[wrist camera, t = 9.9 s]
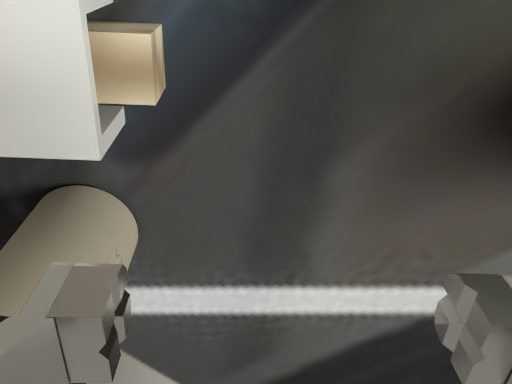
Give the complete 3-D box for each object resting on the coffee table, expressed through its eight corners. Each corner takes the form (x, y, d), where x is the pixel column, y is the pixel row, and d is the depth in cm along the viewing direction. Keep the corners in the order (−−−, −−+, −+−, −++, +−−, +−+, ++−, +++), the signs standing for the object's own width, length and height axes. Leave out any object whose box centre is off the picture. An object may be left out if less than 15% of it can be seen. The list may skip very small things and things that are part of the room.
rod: (-136, 9, 26) (-195, 19, 23) (162, 23, 27) (150, 34, 23) (-112, 75, 28) (-162, 93, 25) (166, 86, 29) (155, 105, 25)
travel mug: (28, 249, 35) (-145, 496, 19) (44, 168, 31) (-153, 389, 16) (125, 277, 37) (38, 523, 21) (150, 202, 33) (68, 433, 17)
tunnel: (-30, -29, 25) (-101, -22, 20) (110, -21, 25) (76, -11, 20) (6, 117, 29) (-45, 154, 24) (125, 122, 30) (100, 160, 25)
